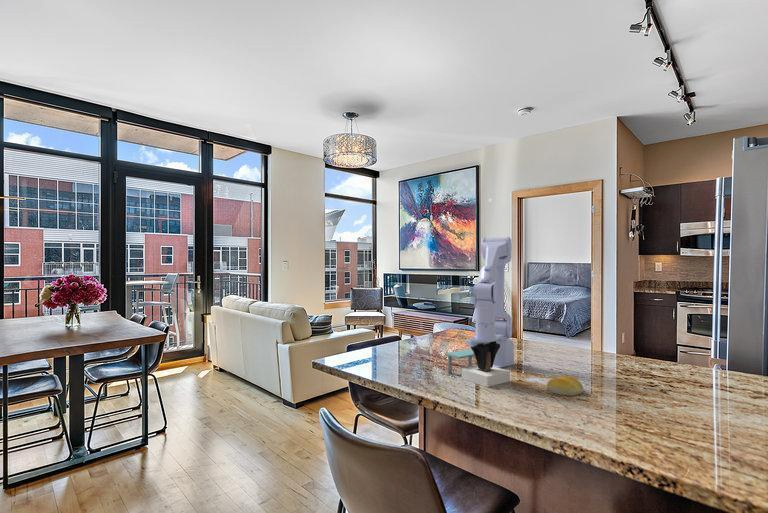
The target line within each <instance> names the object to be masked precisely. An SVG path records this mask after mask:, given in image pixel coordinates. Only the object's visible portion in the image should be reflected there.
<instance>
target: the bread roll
mask: <svg viewBox="0 0 768 513" xmlns="http://www.w3.org/2000/svg"><path fill="white" fill-rule="evenodd" d="M546 387H547V389H548V390H549V391H550V393H551V394H552V393H553V394H555V395H560V396H569V397H570V396H577V395H580V394H582V393H583V392H584V386H583V384H582V383H581V381H579V379H577V378H575V377H573V376H570V375H562V376H559V377H554V378H551V379H549V380H548V381H547V383H546Z"/></svg>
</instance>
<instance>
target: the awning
mask: <svg viewBox="0 0 768 513" xmlns="http://www.w3.org/2000/svg"><path fill="white" fill-rule="evenodd" d="M445 356H447V374H448V375H452V373H453V358H455V359H457V360H458V359H459V360H461V359H466V358H467V368H468V367H472V366H473V363H472V362H473V361H472V360H473V359H472V357H475V355H474V352H473V351H472V349H471V348H468V349H467V348H466V349H463V350H455V351H451V352H446V353H445Z"/></svg>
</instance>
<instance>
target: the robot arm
mask: <svg viewBox="0 0 768 513" xmlns="http://www.w3.org/2000/svg"><path fill="white" fill-rule="evenodd" d="M512 244H513V243H512V239H511V237H510V236H506V237H483V238H482V239H481V242H480V251H481V254H482V258H483V259H484V265H483V266H482V267H481V268H480V269H479V270H480V271H479V275H478V277H477V282H476V284H474V285H473V288H472V297H473V298H472V299H473V307H474V309H475V314H474V315H475V335H473V337H471V338H468V339H466V340H465V346H466V347H468V348H470V349H472V351H473V352H474V355H475V356H474V357H475V360H476V365H478V368H479V369H483V370H484V369H485V367H486V356H487V352H488V351H490V352H491V368H492V367H497V368H501V369H502V368H504V367H509V366H514V365H517V362H515V346H514V342H513V340H512V339H511V337H512V335H513V323H512V319H513V318H512V317H511V315H510V314H509V313H508V312H507V311H505V310H504V309H505V308H504V303H505V299H504V298H505V271H506V265H507V264H509V263H510V262H512V257H513V256H512V252H513V250H512V249H513V245H512Z"/></svg>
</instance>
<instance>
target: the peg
mask: <svg viewBox="0 0 768 513" xmlns="http://www.w3.org/2000/svg"><path fill="white" fill-rule="evenodd" d="M481 371H483V372H490V371H491V352H490V351H488V352H487V356H486V367H485V369H484V370H483V369H481Z"/></svg>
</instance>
